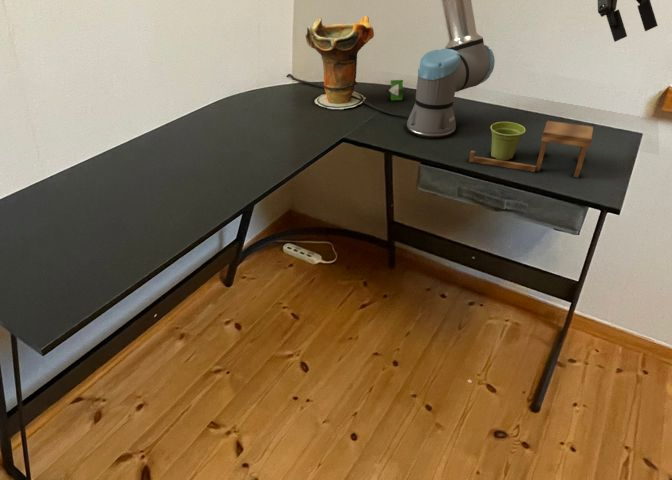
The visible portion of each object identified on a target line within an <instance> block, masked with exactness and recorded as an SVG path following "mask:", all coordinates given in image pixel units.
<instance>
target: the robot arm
mask: <svg viewBox="0 0 672 480" xmlns="http://www.w3.org/2000/svg"><path fill="white" fill-rule="evenodd" d="M635 1H636V2H637V3H638V5H637V10H638V13H639V16H640V19H641V24H642V26H643V29H644V32H648V31H650V30H652V29H654V28H656V27H658V26H659V25H658V22H657V19H656V15H655V13H654V9H653V5H652V2H651V0H635ZM440 4H441V9H442V10H441V11H442V15H443V19H444V25H445V32H446V37H447V44H446V45H445V47H444V48H441V49H433V50H430V51H428V52H426V53H424V54H423V55H422V57H421V58H420V60H419V64H418V65H419V66H418V70H417V81H416V90H415V99H414V105H413V107H412V110H411V112H410V114H407V113H399V112H392V111H390V110H385V109H384V108H380V107H377V106H375V105H373V104H371V103H370V102H368V101H366V100H365V101H363V100H361V99H359V98H357V97H355V96H351V97H352V98H355V99H357V100H360V101H362V103H361V104H364V105H366V106H368V107H370V108H372V109H374V110H376V111H377V112H378V111H379V112H381V113H384V114H387V115H391V116H395V117H403V118H407V122H406V131H407V132H409V133H410V134H411V135H413V136H415V137H419V138H424V139H425V138H426V139H443V138H447V137H450V136H452V135H454V134H455V132H456V129H457V128H456V127H457V122H456V116H455V111H454V110H455V109H454V102H455V95H456V93H458V92H460V91H464V90H467V89H470V88H474V87H477V86H478V85H480V84H483V83H485V82H486V81H487V80H488V79H489V78H490V76H491V75H492V73H493V72H494V68H495V61H496V60H495V54H494V52H493V50H492V49H491V48H490V47H489V46H488V45H486V44H485V42H484V37H483V36H481V35H480V34H479V33H478V32H477V27H476V20H475V15H474V9H473V3H472V0H440ZM617 4H618V0H597V14H599V15H600V17H601V18H602V17H605V16H606V20H607V23H608V26H609V30H610V33H611V35H612V39H613V42H614V43H616V42H618V41H620V40H623V39H624V38H626V37H628V34H627V31H626V28H625V24H624V22H623V21H624V20H623V17H622V15H621V11H620V9H619V8H618V9H617ZM289 77H290V78H291V79H292V80H293V81H295V82H297V83H302V84H305V85H310V86H312V87H313V86H314V87H317V88H321V89H324V86H323V84H320V83H319V84H318V83H315V82H311V81H307V80H303V79H298V78H297V77H294V76H293V75H292V74H291V73H288V74H287V75H286V78H289Z"/></svg>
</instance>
